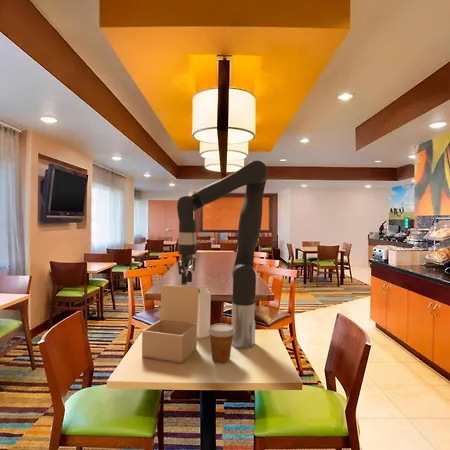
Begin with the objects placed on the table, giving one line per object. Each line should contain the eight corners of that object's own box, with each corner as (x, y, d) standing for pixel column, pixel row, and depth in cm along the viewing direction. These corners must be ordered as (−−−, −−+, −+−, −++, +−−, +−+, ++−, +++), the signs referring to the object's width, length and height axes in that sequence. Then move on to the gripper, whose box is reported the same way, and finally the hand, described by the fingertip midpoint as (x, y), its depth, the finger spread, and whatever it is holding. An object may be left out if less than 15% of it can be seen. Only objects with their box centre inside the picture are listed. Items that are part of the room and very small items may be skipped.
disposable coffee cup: (236, 356, 128) (237, 324, 128) (230, 366, 119) (230, 333, 119) (212, 352, 131) (212, 322, 131) (204, 363, 122) (204, 330, 121)
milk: (210, 335, 150) (211, 285, 149) (199, 338, 146) (200, 287, 145) (201, 331, 154) (202, 283, 153) (190, 334, 150) (191, 285, 149)
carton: (196, 349, 134) (196, 324, 134) (181, 363, 121) (182, 336, 121) (159, 344, 139) (160, 319, 139) (141, 357, 125) (142, 330, 125)
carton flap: (196, 323, 134) (204, 318, 142) (198, 288, 134) (205, 285, 143) (160, 319, 139) (169, 314, 147) (161, 285, 139) (170, 282, 147)
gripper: (188, 244, 136) (188, 287, 136) (201, 242, 149) (201, 280, 150) (171, 244, 138) (171, 285, 138) (185, 241, 152) (185, 279, 152)
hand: (186, 282), depth 144 cm, fingers open, 5 cm apart
